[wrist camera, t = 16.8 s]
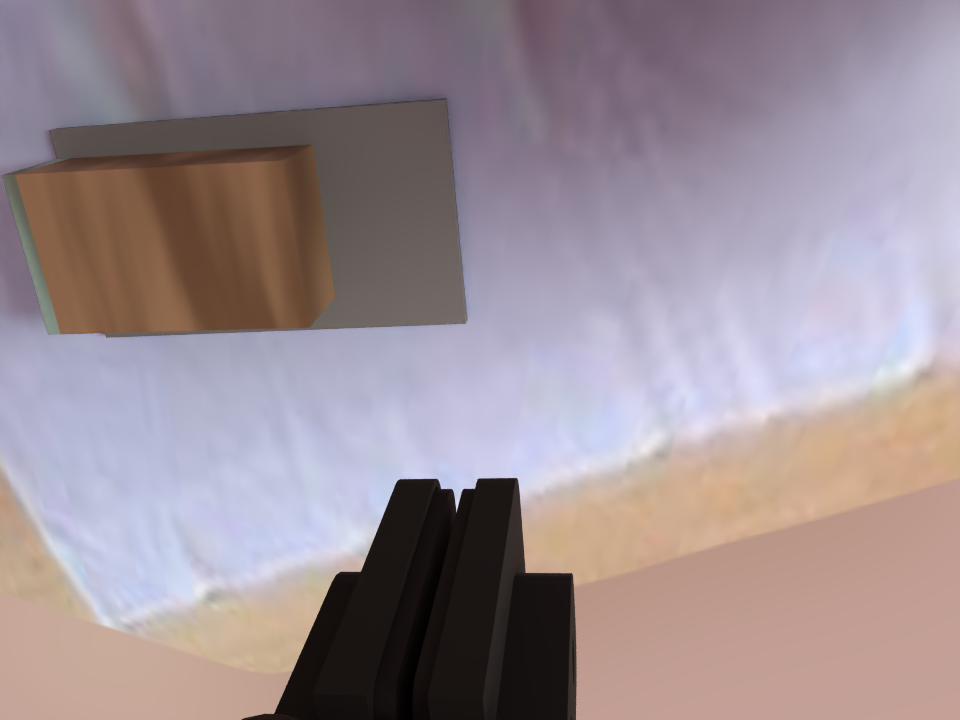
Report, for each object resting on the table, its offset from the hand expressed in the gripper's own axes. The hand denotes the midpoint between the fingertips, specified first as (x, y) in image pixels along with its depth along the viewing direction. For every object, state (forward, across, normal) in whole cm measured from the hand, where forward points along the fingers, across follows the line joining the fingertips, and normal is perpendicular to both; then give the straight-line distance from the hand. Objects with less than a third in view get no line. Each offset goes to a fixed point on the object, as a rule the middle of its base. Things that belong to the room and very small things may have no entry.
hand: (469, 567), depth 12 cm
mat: (+27, +13, +1) cm, 30 cm away
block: (+24, +10, +1) cm, 26 cm away
